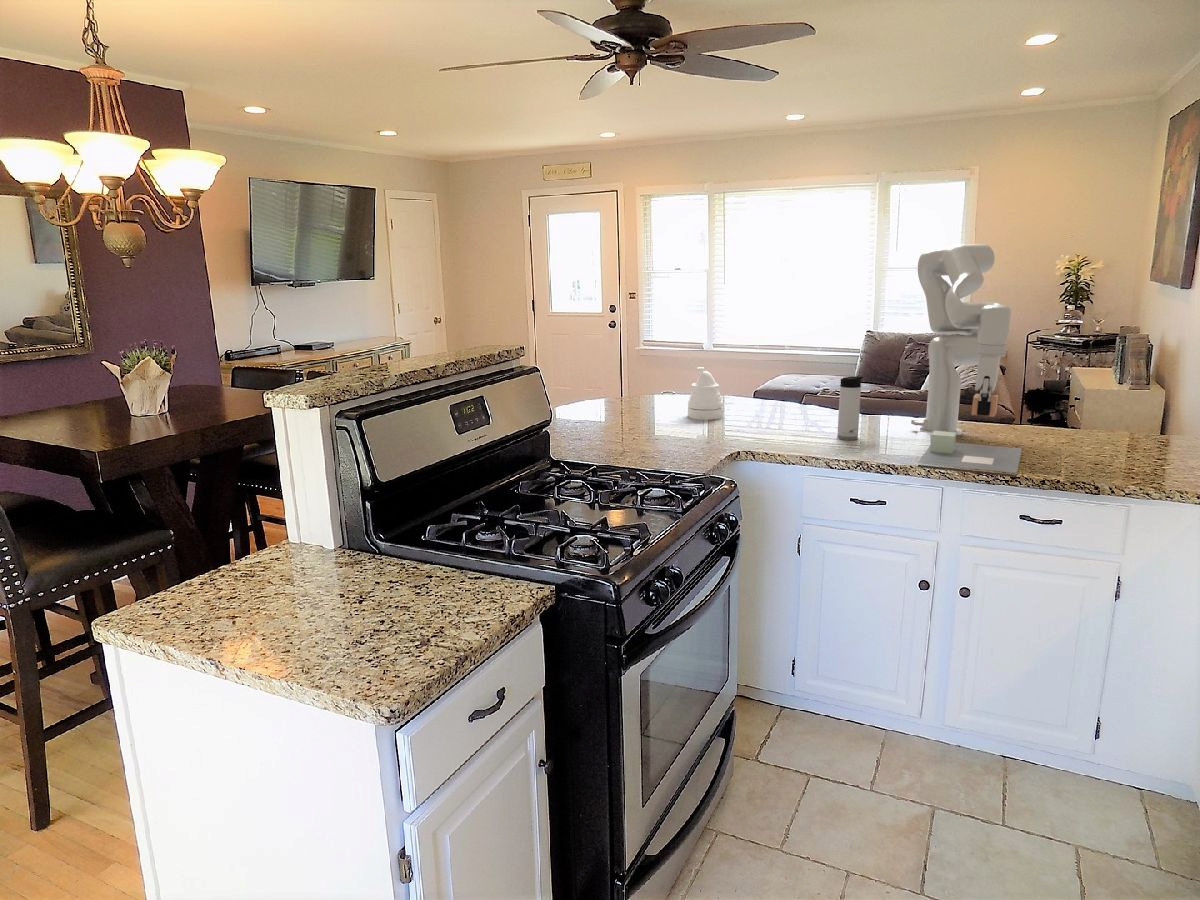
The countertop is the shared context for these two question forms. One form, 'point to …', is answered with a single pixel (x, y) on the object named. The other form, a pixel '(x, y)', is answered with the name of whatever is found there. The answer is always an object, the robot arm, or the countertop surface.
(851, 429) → the travel mug
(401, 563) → the countertop surface
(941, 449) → the sage brick
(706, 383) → the honey pot
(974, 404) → the terracotta brick
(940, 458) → the baseplate
